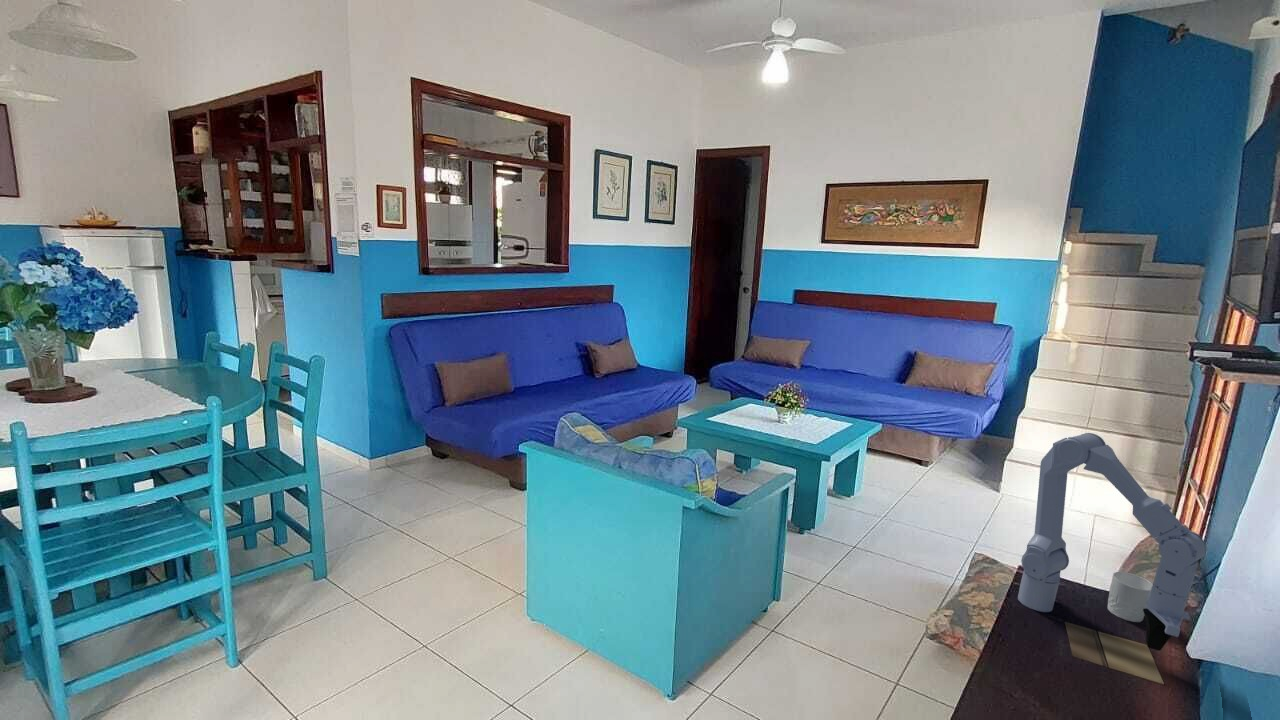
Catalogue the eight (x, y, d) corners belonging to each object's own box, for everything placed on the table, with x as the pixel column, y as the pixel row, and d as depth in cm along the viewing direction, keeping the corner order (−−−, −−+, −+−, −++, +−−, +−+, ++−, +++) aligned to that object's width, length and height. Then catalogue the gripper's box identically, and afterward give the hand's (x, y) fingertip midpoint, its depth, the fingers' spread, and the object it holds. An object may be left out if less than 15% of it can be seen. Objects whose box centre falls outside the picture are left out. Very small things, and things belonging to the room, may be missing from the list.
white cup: (1099, 616, 152) (1109, 578, 150) (1107, 604, 157) (1117, 568, 155) (1140, 633, 146) (1151, 594, 144) (1147, 621, 152) (1158, 583, 149)
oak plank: (1096, 637, 143) (1097, 631, 143) (1145, 651, 140) (1147, 645, 139) (1107, 674, 131) (1109, 667, 131) (1162, 690, 127) (1164, 683, 127)
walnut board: (1063, 627, 146) (1064, 621, 146) (1094, 636, 144) (1096, 630, 143) (1071, 662, 134) (1072, 655, 134) (1105, 673, 131) (1107, 666, 131)
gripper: (1207, 614, 122) (1187, 675, 125) (1185, 578, 134) (1167, 635, 137) (1161, 601, 125) (1143, 661, 128) (1143, 568, 137) (1127, 623, 141)
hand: (1153, 647), depth 133 cm, fingers closed
